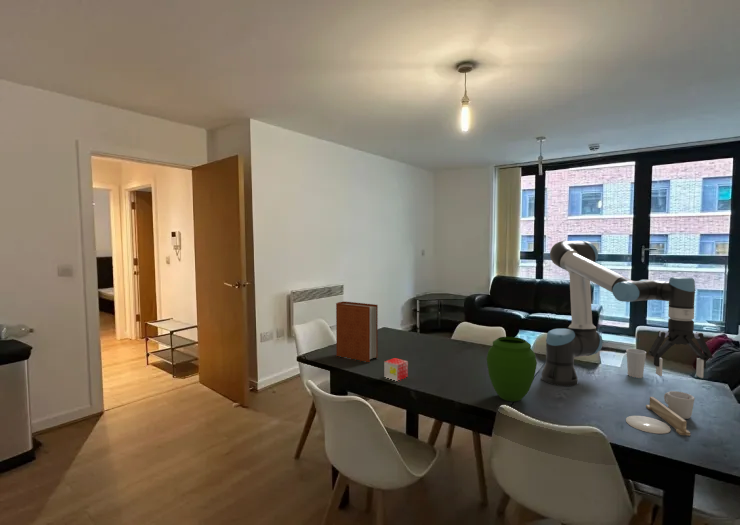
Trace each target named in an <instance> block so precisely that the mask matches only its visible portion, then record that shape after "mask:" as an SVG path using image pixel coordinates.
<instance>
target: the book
mask: <svg viewBox="0 0 740 525" xmlns="http://www.w3.org/2000/svg"><path fill="white" fill-rule="evenodd" d="M335 304H336V305H335V308H336V309H335V310H336V311H335V316H336V320H335V321H336V322H335V323H336V324H335V325H336V326H335V328H336V334H335V335H336V341H335V342H336V343H335V344H336V346H335V347H336V350H335V351H336V357H337V356H341V357H347V358H351V359H356V360H360V361H359V362H361V361H366V362H370V363H371V361H370V360H371V359H373V358H378V357H379V356H378V355H379V354H378V353H379V352H378V348H379V347H378V344H379V343H378V336H379V334H378V331H379V330H378V329H379V328H378V327H379V325H378V324H379V323H378V322H379V318H378V312H379V311H378V308H379V307H378V304H375V303H374V304H373V303H364V302H355V301H354V302H352V301H339V302H336V303H335ZM351 359H350V360H351ZM356 360H355V361H356ZM366 362H365V363H366Z"/></svg>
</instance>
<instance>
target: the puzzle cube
mask: <svg viewBox="0 0 740 525" xmlns="http://www.w3.org/2000/svg"><path fill="white" fill-rule="evenodd" d="M383 363H384V368H383V369H384V371H383V372H384V374H383V375H384V376H383V378H384V377H386V378H385V379H387V378H389V379H388V380H390V379H392V380H391V381H393V380H395V381H394V382H396V381H398V380H400V381H402V380H401V379H403V380H405V379H407V378H406V377H408V378H409V374H408V373H409V369H408V368H409V361H408V360H404V359H400V358H397V357H394V358H391V359H387V360H386V361H385V360H384V362H383ZM404 378H405V379H404ZM398 382H399V381H398Z"/></svg>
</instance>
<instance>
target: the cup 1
mask: <svg viewBox="0 0 740 525" xmlns="http://www.w3.org/2000/svg"><path fill="white" fill-rule="evenodd" d="M646 357H647V351H645V350H642V349H637V348H627V349H626V364H627V365H626V366H627V372H626V373H627V374H628V375H629V377H631V376H632V377H631V378H635V377H636V379H643V378H644V370H645V364H646ZM628 375H627V376H628ZM642 377H643V378H642Z"/></svg>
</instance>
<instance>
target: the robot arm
mask: <svg viewBox="0 0 740 525" xmlns="http://www.w3.org/2000/svg"><path fill="white" fill-rule="evenodd" d="M549 258H550V260H551V261H552V263H553V264H555V266H557V267H559V268H561V269H562V270H564V271H565V270H566V271H567V273H568V274H569V291H570V292H569V294H570V311H571V312H570V314H571V315H570V316H571V323H570V324H569V326H568V328H553V329H551V330H548V332H547V334H546V339H545V342H546V343H545V344H546V345H545V347H546V348H545V350H546V351H545V364H544V367H543V369H542V372H541V380H542V381H543V382H545V383H548V384H550V385H554V386H558V387H559V386H560V387H574V386H577V385H578V376H577V371H576V369H575V362H574V361H575V358H577V357H587V356H592V355H596V354H598V353H599V352H600V351H601V350H602V349H603V348H602V347H603V343H604V340H603V336H602V335H601V333H600V332H599V331H597V326H595V325H594V323H593V314H592V313H593V312H592V293H591V292H592V291H591V283H593V284H595V285H597V286H599V287H601V288H603V289H605V291H606V290H607V291H609V292H610V293H612V295H613V297H614V298H615V300H617V301H619V302H623V303H624V302H625V303H632V302H639V301H640V302H641V301H664V302H668V312H667V314H668V315H667V316H668V319H667V328H668V330H667V331H662V330H659V331H657V337H656V338H655V341H654V342H653V344H652V345H651V346H650V349H649V350H648V355H649V356H652V357H653V365H654V367H655V374H656V375H657V376H659V377H663V361H664V360H663V359H664V358H662V356H663V355H664V354H665V353H667V352H668V350H669V349H670V348H671V347H672V346H675V345H688V346H689V347H690V348H691V350H692V351H693V352H694V353H695V354H696V356H698V357H696V370H695V375H696V377H699V378H701V379H703V378H704V372H705V371H704V370H705V369H706V368H707V361H709V359H713V357H714V355H712V352H711V350H710V348H709V347H708V345H707V342H706V340H705V338H704V333H702V332H700V331H696V332H694V330H695V321H694V319H695V299H696V298H695V297H696V296H695V295H696V291H697V290H696V283H695V282H696V281H695V279H694V278H692V277H688V276H670V277H669V280H668V281H664V280H656V279H655V280H654V279H640V280H632V279H629V278H627V277H626V276H623V275H621V274H620V273H617V272H616V271H614V270H611V269H609V268H607V267H604V266H603V265H600V264H599V263H596V262H597V260H598V259H599V251H598V248H597V247H596V245H594V244H593V243H592V242H590V241H585V240H563V241H559V242H557V243H555V244H554V245H553V246H552V247H551V249H550V252H549ZM667 337H668V338H667ZM694 338H695V339H696V342H697V343H698V345H699V347H700V348H699V347H698V346H697V345H696V343H695V342H694V340H693V339H694ZM665 339H666V340H665ZM664 341H665V342H664ZM663 342H664V343H663Z"/></svg>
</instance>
